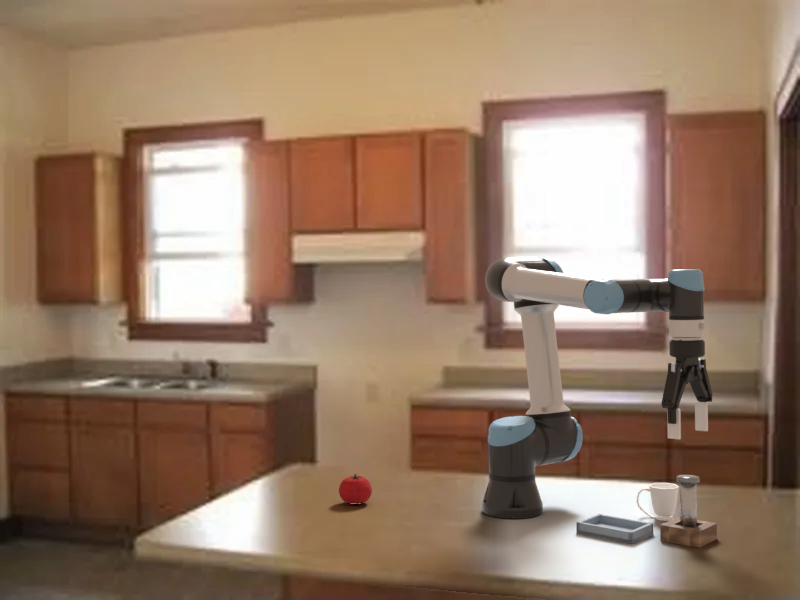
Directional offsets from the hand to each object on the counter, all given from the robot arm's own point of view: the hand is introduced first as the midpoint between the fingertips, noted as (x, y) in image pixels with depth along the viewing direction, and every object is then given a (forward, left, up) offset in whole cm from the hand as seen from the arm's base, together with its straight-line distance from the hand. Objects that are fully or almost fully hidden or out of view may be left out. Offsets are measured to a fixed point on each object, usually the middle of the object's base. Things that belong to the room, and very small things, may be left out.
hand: (688, 434), depth 205 cm
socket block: (0, 0, -23) cm, 23 cm away
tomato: (-82, -23, -24) cm, 89 cm away
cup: (-14, +13, -24) cm, 31 cm away
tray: (-15, -6, -23) cm, 29 cm away
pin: (0, 0, -23) cm, 23 cm away
